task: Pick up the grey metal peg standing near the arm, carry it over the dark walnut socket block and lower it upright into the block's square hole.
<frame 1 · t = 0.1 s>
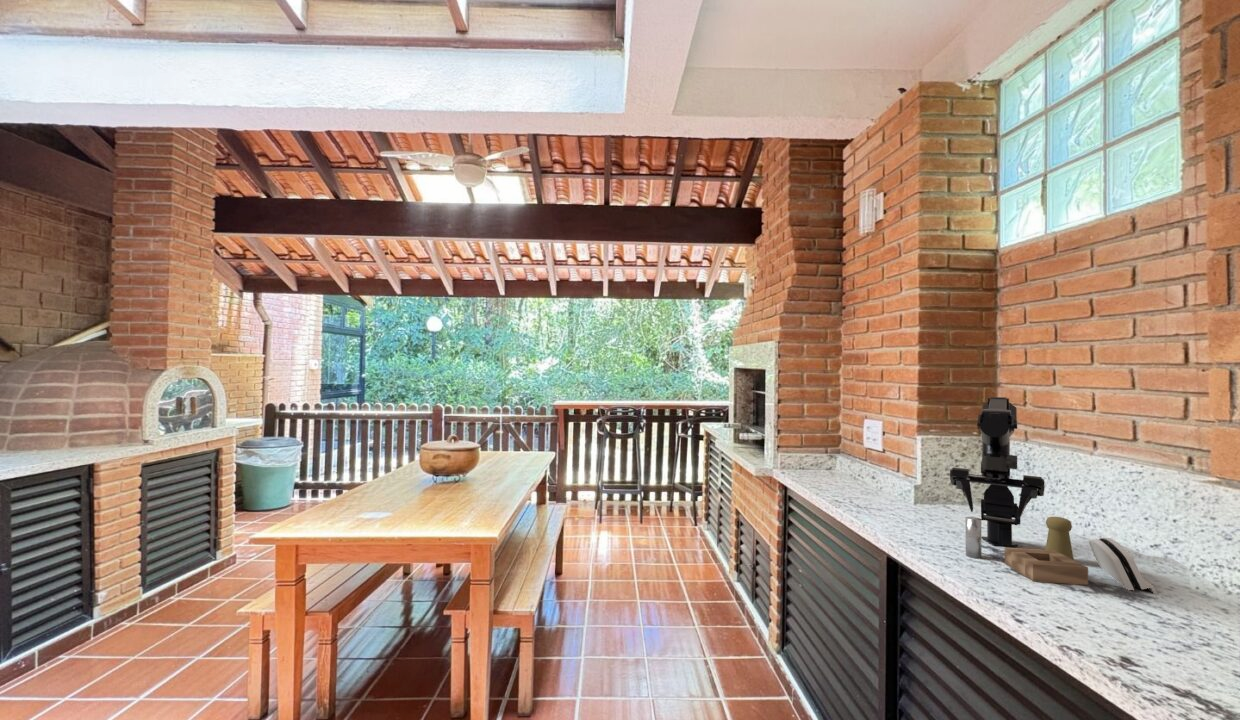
hand: (994, 514, 125), 15 cm above the table, tool tilted 30°, fingers open, 9 cm apart
cork: (1059, 560, 136), on the table
grey black curved wedge: (1118, 579, 124), on the table
grey metal peg: (973, 556, 138), on the table
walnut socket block: (1044, 573, 127), on the table
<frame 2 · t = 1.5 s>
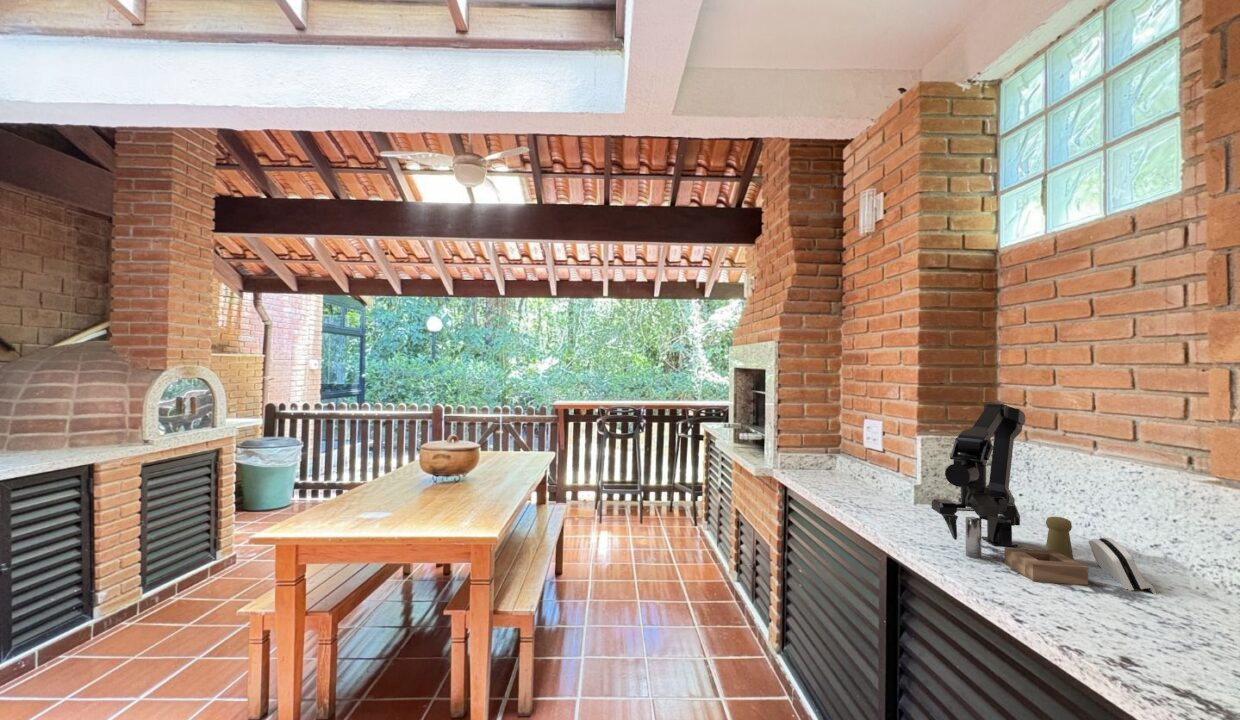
hand: (973, 540, 138), 4 cm above the table, tool pointing down, fingers open, 9 cm apart
nothing on the table moved.
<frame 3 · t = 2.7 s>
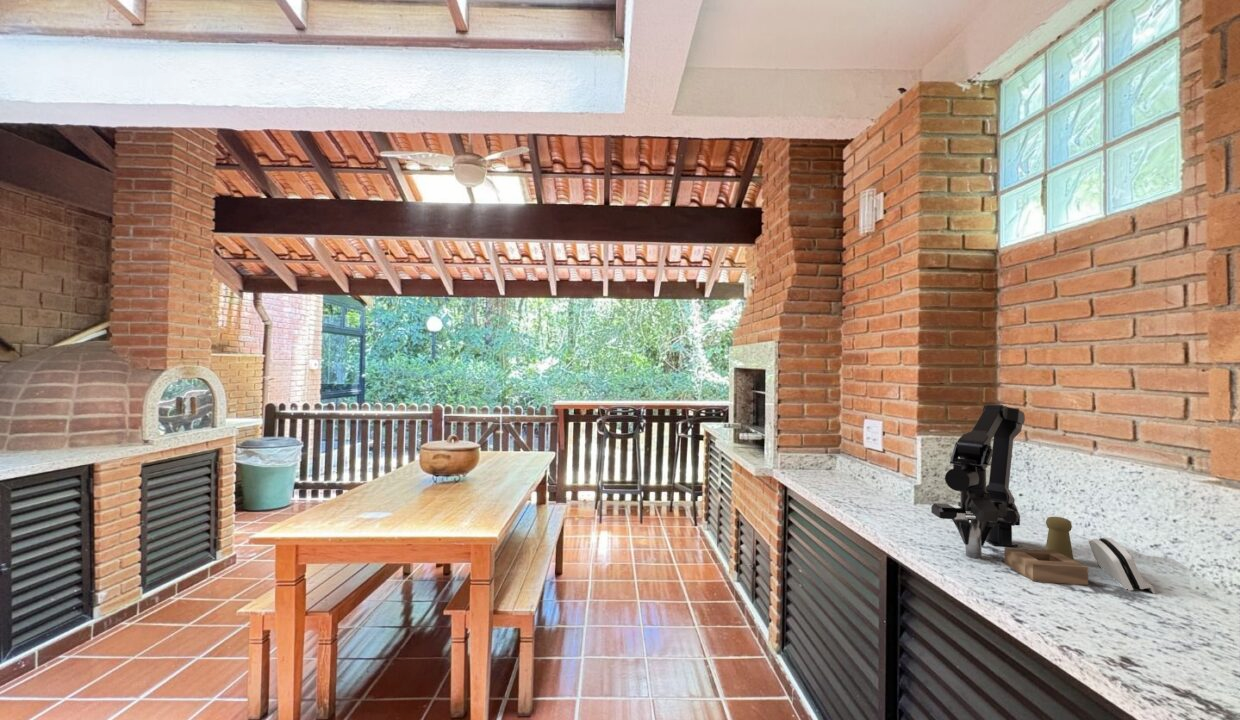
hand: (973, 544, 138), 3 cm above the table, tool pointing down, fingers closed on grey metal peg, 3 cm apart
grey metal peg: (973, 556, 138), on the table, touching gripper
everything else where it was.
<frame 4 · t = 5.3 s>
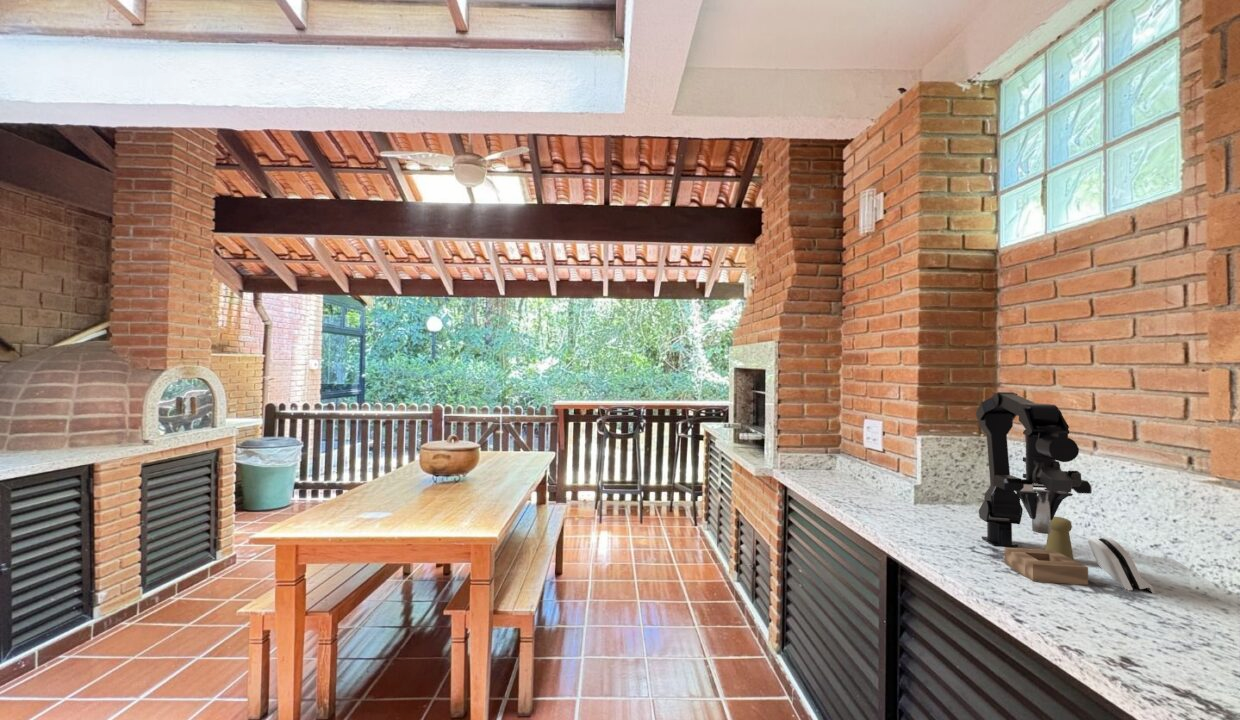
hand: (1041, 519, 127), 13 cm above the table, tool pointing down, fingers closed on grey metal peg, 3 cm apart
grey metal peg: (1041, 531, 127), point 10 cm above the table, touching gripper
everything else where it was.
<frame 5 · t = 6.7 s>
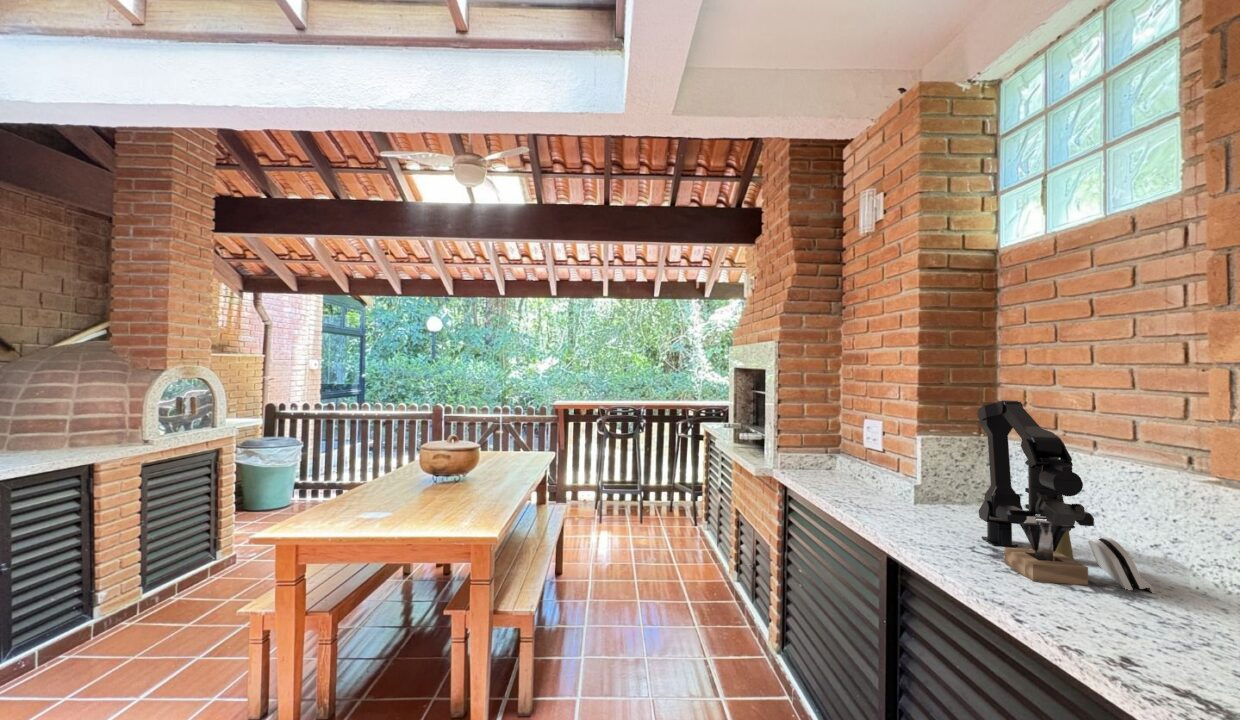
hand: (1043, 550, 127), 6 cm above the table, tool pointing down, fingers closed on grey metal peg, 3 cm apart
grey metal peg: (1044, 563, 127), point 2 cm above the table, touching gripper
everything else where it was.
when the fingers open (5 cm above the table, at t = 7.8 s): grey metal peg drops 2 cm, resting in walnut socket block.
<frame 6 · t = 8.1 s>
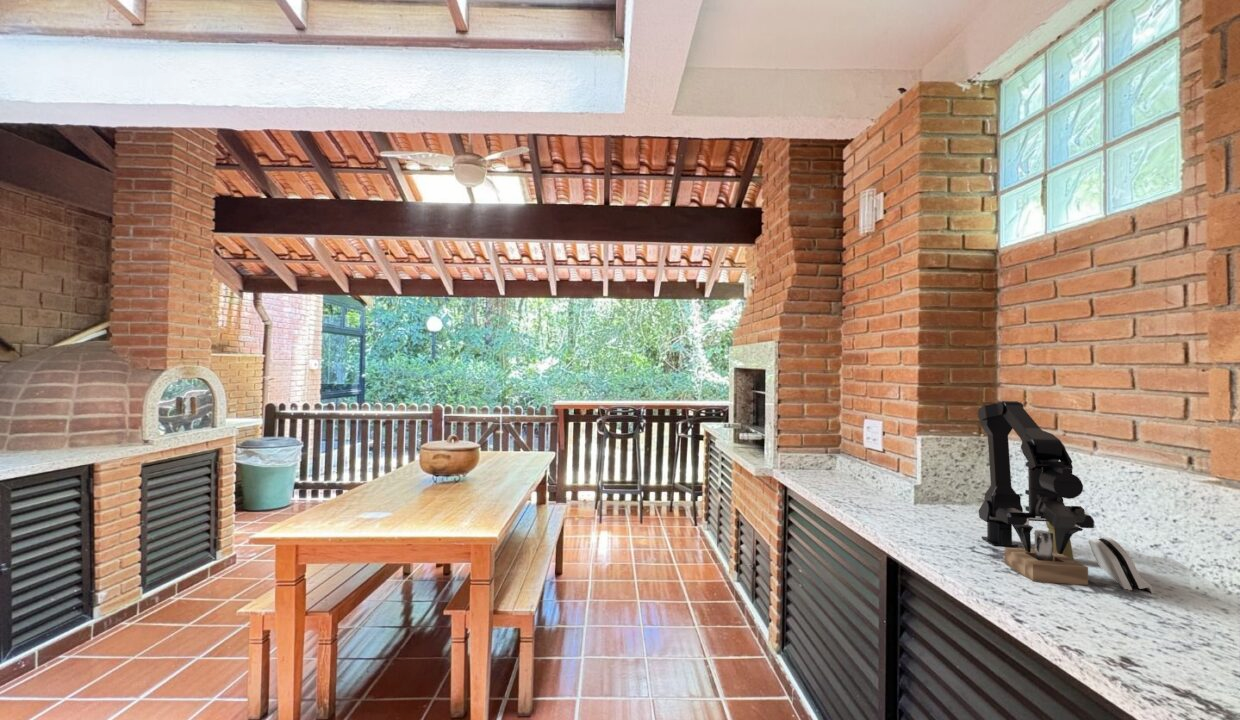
hand: (1043, 552, 127), 5 cm above the table, tool pointing down, fingers open, 7 cm apart
grey metal peg: (1044, 573, 127), resting in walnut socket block
everything else where it was.
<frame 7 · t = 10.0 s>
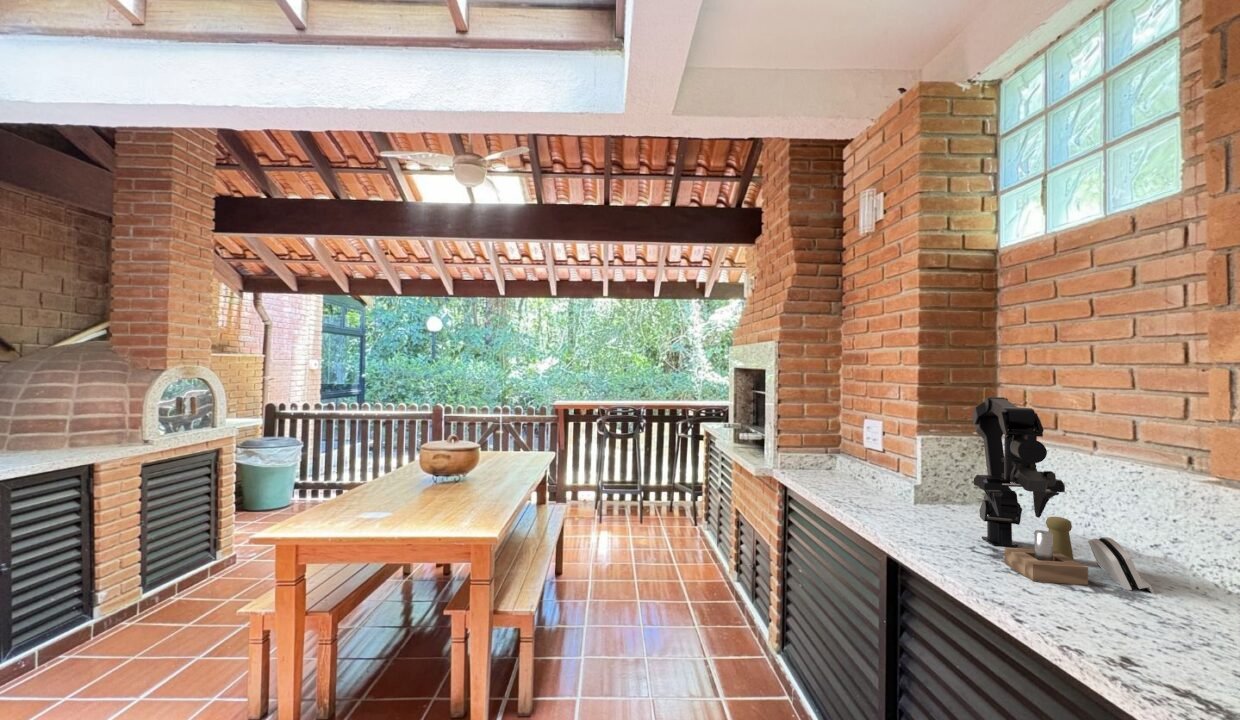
hand: (1018, 516, 134), 12 cm above the table, tool pointing down, fingers open, 9 cm apart
nothing on the table moved.
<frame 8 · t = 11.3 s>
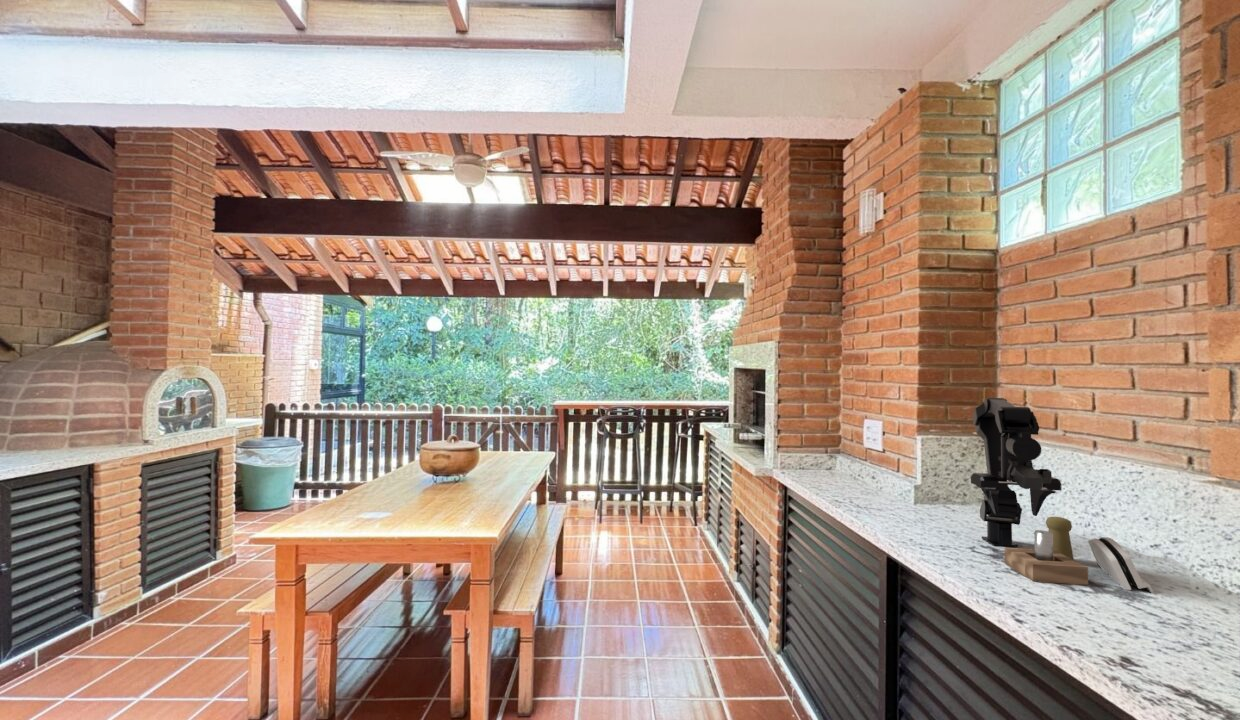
hand: (1015, 514, 135), 12 cm above the table, tool pointing down, fingers open, 9 cm apart
nothing on the table moved.
at the end: grey metal peg 0.0 cm off-centre on the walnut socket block, point 0.0 cm above the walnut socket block's base; grey metal peg tilted 0°; the gripper is holding nothing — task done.
